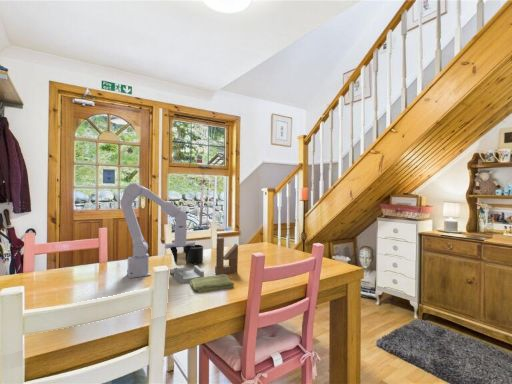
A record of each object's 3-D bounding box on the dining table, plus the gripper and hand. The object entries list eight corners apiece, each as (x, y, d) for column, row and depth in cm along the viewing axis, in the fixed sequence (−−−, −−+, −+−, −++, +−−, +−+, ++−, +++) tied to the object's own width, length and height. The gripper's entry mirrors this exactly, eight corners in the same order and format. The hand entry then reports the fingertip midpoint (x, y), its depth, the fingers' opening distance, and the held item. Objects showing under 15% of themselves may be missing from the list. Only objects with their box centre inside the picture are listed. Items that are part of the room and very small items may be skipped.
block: (175, 263, 143) (175, 252, 143) (183, 262, 145) (183, 251, 145) (177, 265, 140) (177, 253, 140) (185, 264, 142) (185, 253, 142)
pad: (171, 275, 137) (171, 273, 137) (168, 271, 143) (168, 269, 143) (191, 272, 142) (191, 270, 142) (187, 268, 148) (187, 267, 148)
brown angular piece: (237, 273, 143) (238, 237, 143) (217, 275, 138) (217, 238, 138) (235, 271, 146) (235, 236, 146) (214, 273, 142) (215, 237, 141)
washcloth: (188, 283, 127) (188, 276, 127) (226, 279, 134) (226, 272, 134) (194, 294, 115) (194, 286, 115) (235, 288, 122) (235, 281, 122)
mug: (190, 266, 152) (190, 249, 152) (183, 261, 163) (183, 245, 163) (206, 264, 157) (207, 248, 157) (199, 259, 168) (199, 244, 167)
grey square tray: (180, 283, 126) (180, 274, 126) (173, 276, 135) (174, 268, 135) (203, 280, 131) (204, 271, 131) (196, 273, 141) (196, 265, 141)
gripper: (167, 236, 135) (167, 265, 136) (197, 234, 143) (196, 261, 143) (164, 234, 141) (164, 261, 142) (192, 232, 149) (192, 258, 149)
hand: (180, 261), depth 143 cm, fingers closed on block, 4 cm apart
